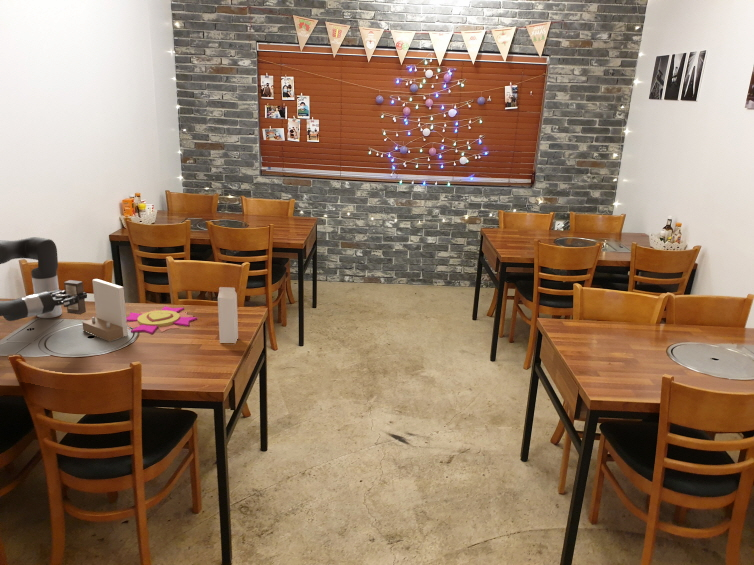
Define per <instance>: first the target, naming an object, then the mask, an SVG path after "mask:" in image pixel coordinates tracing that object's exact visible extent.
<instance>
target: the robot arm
mask: <svg viewBox="0 0 754 565" xmlns="http://www.w3.org/2000/svg"><path fill="white" fill-rule="evenodd" d="M17 259H28V260H29V259H30V260H34V261H35V260H36V261H37V267H35V268H33V269H32V270H31V272H30V273H31V274H30V275H31V280H32V281H31V282H32V287H33V288H32V289H33V293H32V294H29V295H25V296H22V297H19V298H14V299H11V300H0V317H3V318H4V320H6V321H7V322H14V321H19V320H22V319H25V318H31V317H37V318H39V319H52V318H56V317H59V316H61V315H63V311H62V305H63V307H64V308H67V307H68V306H71V305H74V304H77V303H79V300H81V299H87V298H88V294H87V292H85V291H84V292H83V293H79V294H75V295H70V294H65V289H63V290H61V289H60V288H59V279H58V270H59V269H58V268H59V260H58V249H57V245H56V242H54V240H52V239H50V238H45V237H40V236H39V237H38V236H33V237H28V238H27V237H26V238H21V239H15V240H0V265H2V264H6V263H8V262H10V261H11V260H17ZM66 297H68V299H66Z"/></svg>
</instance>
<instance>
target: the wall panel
mask: <svg viewBox="0 0 754 565" xmlns="http://www.w3.org/2000/svg"><path fill="white" fill-rule="evenodd" d="M91 282H92V290H93V300H94V306H95V307H94V308H95V316H92V317H91V318H90V319H87V320H84V321H82V322H81V323H82V330H84V331H87V332H89V333H92V334H94V335H96V336H98V337H97V338H99V337H101V338H100V339H102V338H103V339H102V340H104V339H105V340H104V341H107V342H109V341H110V342H112V340H113V341H116V340H119V339H121V337H122V338H124V336H125V337H128V336H129V333H128V332H129V331H128V330H127V329H128V325H127V323H128V321H127V319H126V317H127V309H126V301H125V300H126V299H125V289H124V288H125V287H124V286H121V285H118V284H115V283H111V282H108V281H105V280H102V279H98V278H94V279H92V281H91ZM84 331H83V332H84ZM89 333H88V334H89ZM94 335H93V336H94ZM127 335H128V336H127ZM96 336H95V337H96ZM118 338H119V339H118ZM115 339H116V340H115Z"/></svg>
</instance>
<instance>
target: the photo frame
mask: <svg viewBox="0 0 754 565" xmlns="http://www.w3.org/2000/svg"><path fill="white" fill-rule="evenodd" d="M63 285H64V286H63V287H64V290H65V294H70V295H75V294H79V293H83V292H85V291H84V282H83V281H81V280H72V279H68V280H66V281H64V282H63ZM66 299H68V297H66ZM85 299H86V298H85ZM85 299H81V300H79V303H77V304H74V305H71V306H68V307H66V311H67V312H66V313H67V314H73V315H84V314H85V313H86V312H87V310H86V300H85Z"/></svg>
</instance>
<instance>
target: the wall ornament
mask: <svg viewBox="0 0 754 565" xmlns="http://www.w3.org/2000/svg"><path fill="white" fill-rule="evenodd" d="M183 310H185V307H169V306H166V305H165V306H163V308H162V309H160V310H158V308H155V309H152V310H149V311H138V312H131V311H130V313H129V316H126V319H127V326H128V325H129V326H128V327H132V328H133V329H130V328H128V327H127V329H129V330H130V333H141V332H143V333H147V334H150V335H153V334H154V333H155V331H156V330H157V329H158V330H159V332H161V333H163V332H166V331H168V330H173V329H174V330H175V329H176V330H178V328H181V327H179V326H182V325H184V326H183V327H188V326H190V323H191V322H194V321H196V320H198V317H197V316H195V317H193V316H194V315H191V314H188V312H186V313H185V311H183ZM193 320H194V321H193ZM190 321H191V322H190ZM175 324H176V325H175ZM135 331H136V332H135Z"/></svg>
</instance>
